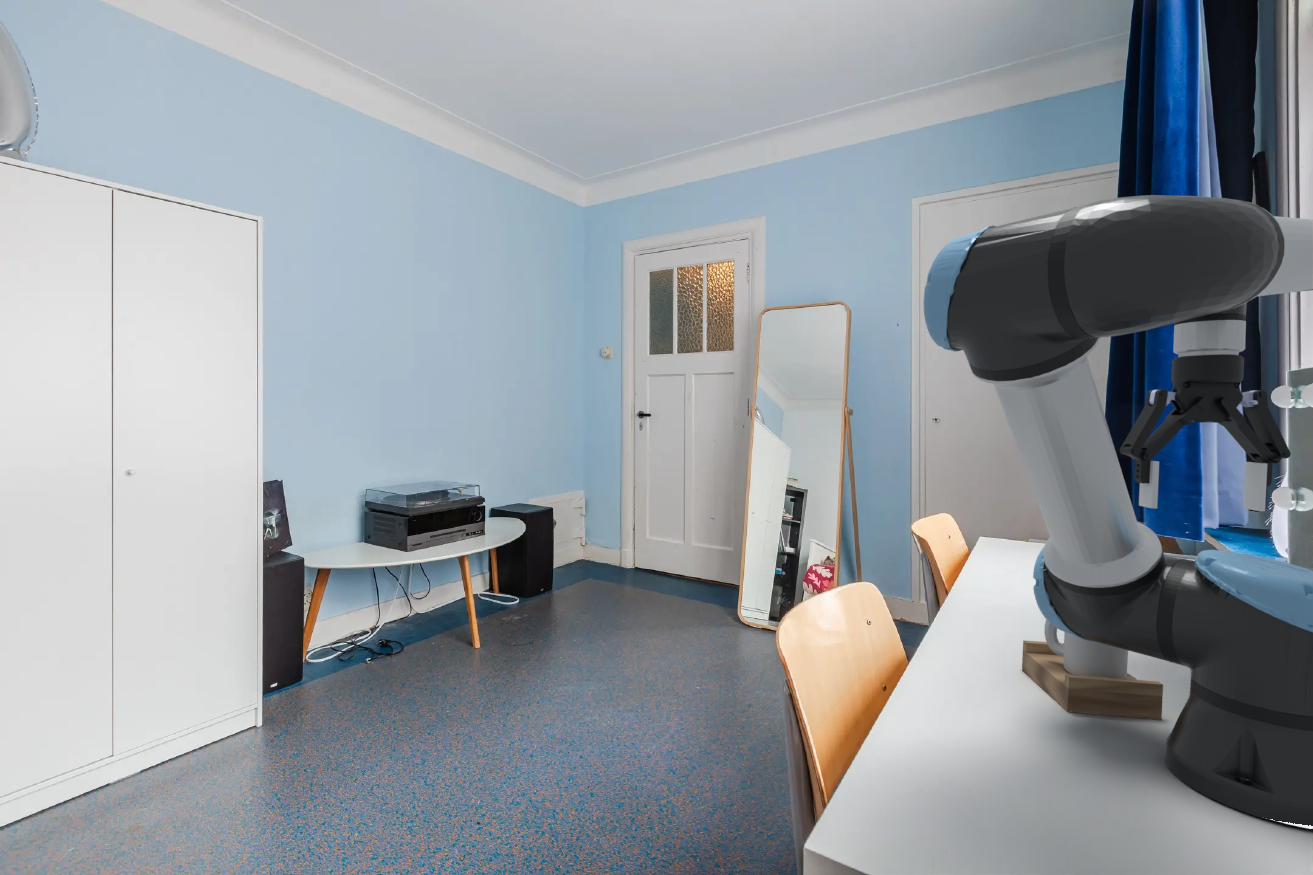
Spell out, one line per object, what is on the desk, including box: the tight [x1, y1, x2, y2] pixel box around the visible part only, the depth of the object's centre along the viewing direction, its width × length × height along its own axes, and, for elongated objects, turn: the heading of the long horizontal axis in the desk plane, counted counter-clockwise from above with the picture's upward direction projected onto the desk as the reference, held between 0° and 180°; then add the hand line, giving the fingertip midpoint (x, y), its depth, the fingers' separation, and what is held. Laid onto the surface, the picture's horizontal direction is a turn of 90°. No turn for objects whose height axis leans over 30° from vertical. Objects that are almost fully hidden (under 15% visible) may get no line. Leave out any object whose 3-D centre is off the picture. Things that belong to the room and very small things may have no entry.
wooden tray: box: [1021, 640, 1164, 721], centre depth 89 cm, size 14×11×4 cm
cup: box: [1044, 620, 1129, 679], centre depth 89 cm, size 7×10×9 cm
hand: (1200, 508), depth 89 cm, fingers open, 13 cm apart
